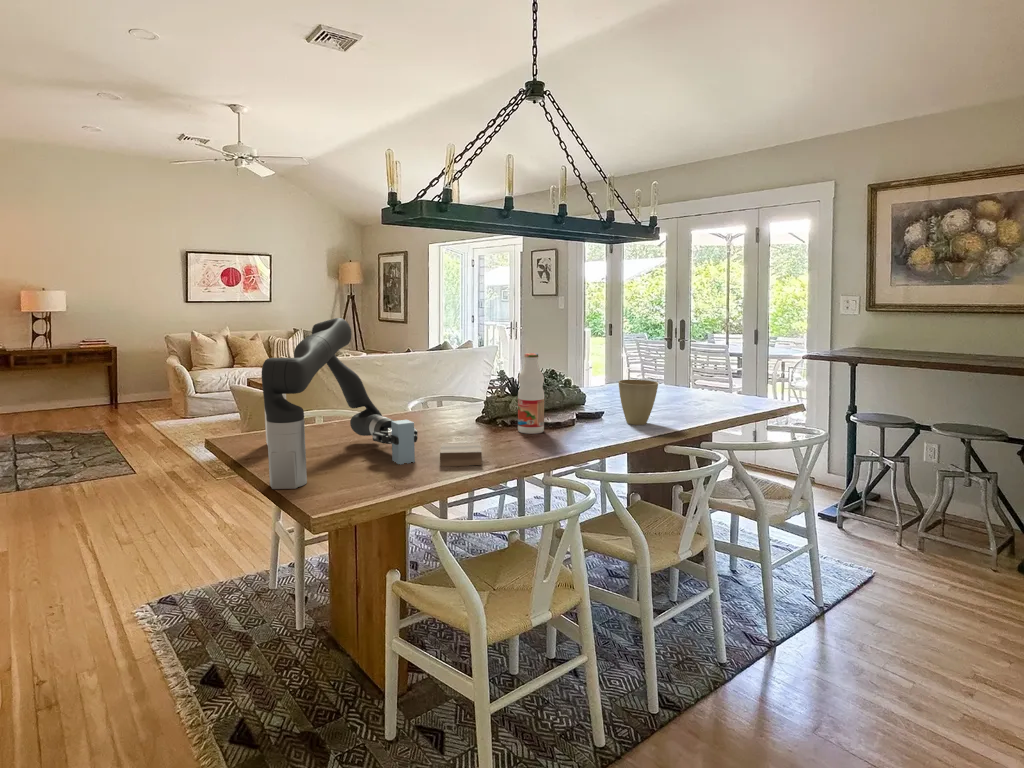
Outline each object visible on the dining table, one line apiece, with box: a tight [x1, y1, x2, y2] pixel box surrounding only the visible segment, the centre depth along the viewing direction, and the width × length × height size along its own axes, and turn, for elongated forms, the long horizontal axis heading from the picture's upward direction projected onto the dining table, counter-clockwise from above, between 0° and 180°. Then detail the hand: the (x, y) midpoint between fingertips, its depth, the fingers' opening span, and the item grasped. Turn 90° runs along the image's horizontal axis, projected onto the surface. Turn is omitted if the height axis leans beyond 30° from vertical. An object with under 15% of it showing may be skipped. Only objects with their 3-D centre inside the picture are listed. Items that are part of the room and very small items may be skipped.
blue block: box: [391, 419, 416, 465], centre depth 195 cm, size 5×5×12 cm
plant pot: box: [618, 379, 659, 426], centre depth 252 cm, size 15×15×16 cm
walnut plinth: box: [439, 442, 483, 467], centre depth 197 cm, size 12×12×4 cm
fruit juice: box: [517, 352, 545, 435], centre depth 236 cm, size 9×9×28 cm
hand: (406, 440), depth 193 cm, fingers closed on blue block, 5 cm apart
